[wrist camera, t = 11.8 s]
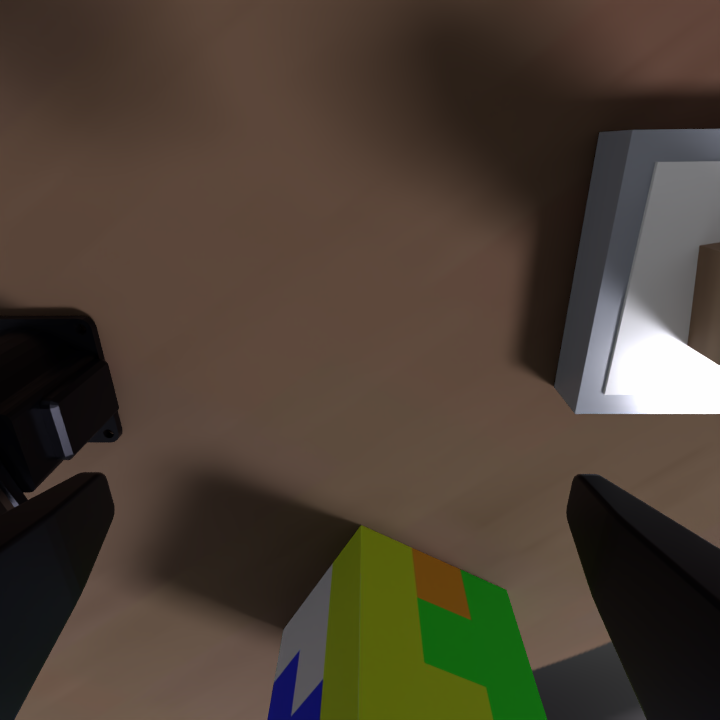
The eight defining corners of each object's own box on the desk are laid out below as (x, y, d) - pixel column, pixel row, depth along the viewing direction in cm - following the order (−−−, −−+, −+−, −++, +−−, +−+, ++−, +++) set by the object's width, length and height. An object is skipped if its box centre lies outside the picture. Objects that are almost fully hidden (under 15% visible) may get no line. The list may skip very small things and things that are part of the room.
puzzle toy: (283, 628, 30) (246, 838, 21) (361, 524, 26) (357, 722, 17) (416, 680, 32) (436, 892, 23) (506, 589, 28) (571, 798, 19)
